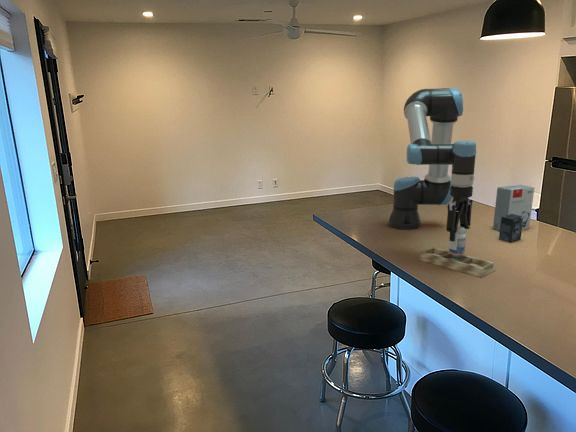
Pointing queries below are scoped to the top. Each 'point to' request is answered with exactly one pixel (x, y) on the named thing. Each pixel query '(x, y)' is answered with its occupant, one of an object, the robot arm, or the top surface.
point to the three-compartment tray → (457, 262)
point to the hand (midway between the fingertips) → (457, 247)
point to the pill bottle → (459, 242)
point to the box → (511, 228)
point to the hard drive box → (513, 204)
